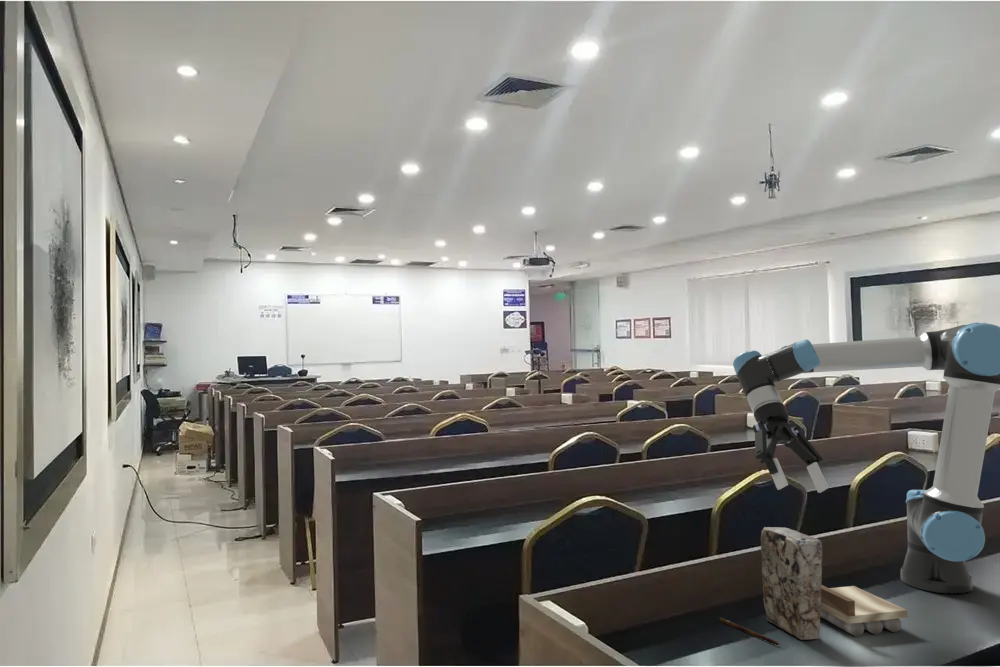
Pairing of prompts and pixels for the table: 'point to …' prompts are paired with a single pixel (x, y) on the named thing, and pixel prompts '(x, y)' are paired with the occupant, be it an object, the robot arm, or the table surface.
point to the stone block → (792, 581)
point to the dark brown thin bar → (748, 631)
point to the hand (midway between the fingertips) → (803, 488)
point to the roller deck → (859, 610)
